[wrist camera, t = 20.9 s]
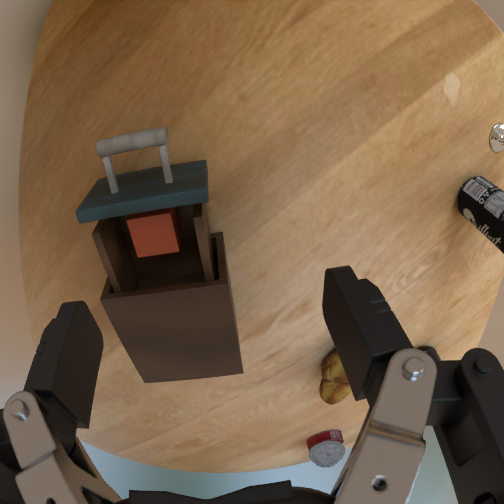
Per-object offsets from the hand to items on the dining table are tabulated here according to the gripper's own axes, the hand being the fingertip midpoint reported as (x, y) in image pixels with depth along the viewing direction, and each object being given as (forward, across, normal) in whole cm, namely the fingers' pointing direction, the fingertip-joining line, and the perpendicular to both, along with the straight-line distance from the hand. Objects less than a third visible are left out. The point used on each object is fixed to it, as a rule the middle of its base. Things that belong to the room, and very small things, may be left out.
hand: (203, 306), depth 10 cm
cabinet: (+24, +6, +19) cm, 31 cm away
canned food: (+24, -19, +80) cm, 86 cm away
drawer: (+23, +6, +7) cm, 25 cm away
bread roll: (+24, -18, +39) cm, 50 cm away
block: (+22, +6, +8) cm, 24 cm away
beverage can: (+24, -36, +10) cm, 44 cm away
